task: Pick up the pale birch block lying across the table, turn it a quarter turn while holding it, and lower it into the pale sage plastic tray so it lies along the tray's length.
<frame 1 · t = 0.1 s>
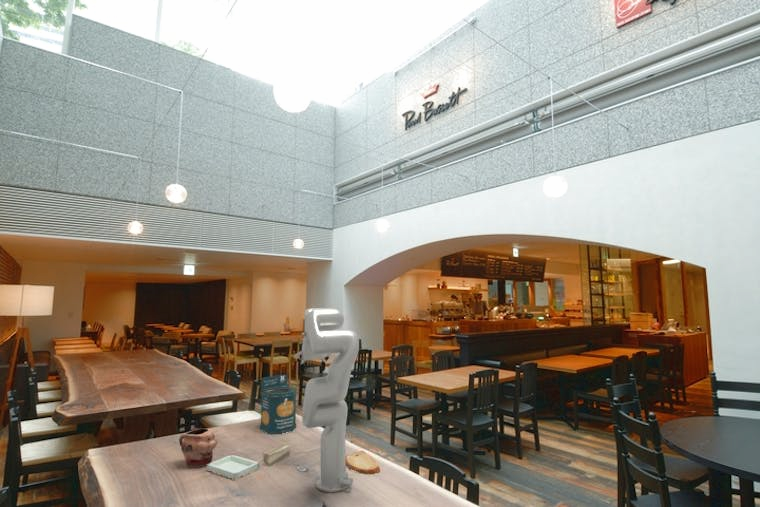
hand: (312, 371, 183), 37 cm above the table, tool pointing down, fingers open, 9 cm apart
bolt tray: (233, 469, 164), on the table
donation box: (279, 430, 217), on the table
decorative planter: (196, 464, 172), on the table
birch block: (276, 461, 173), on the table
tan flat crusted slab: (362, 466, 167), on the table
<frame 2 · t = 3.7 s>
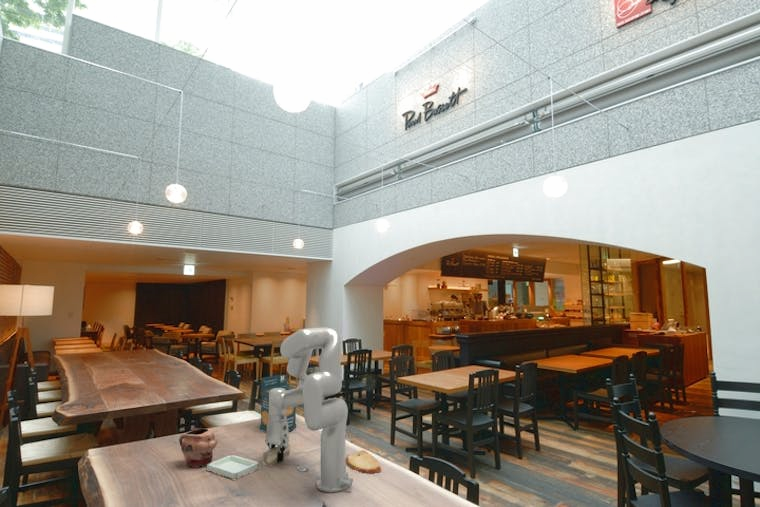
hand: (276, 459, 173), 0 cm above the table, tool pointing down, fingers closed on birch block, 4 cm apart
birch block: (276, 460, 173), on the table, touching gripper
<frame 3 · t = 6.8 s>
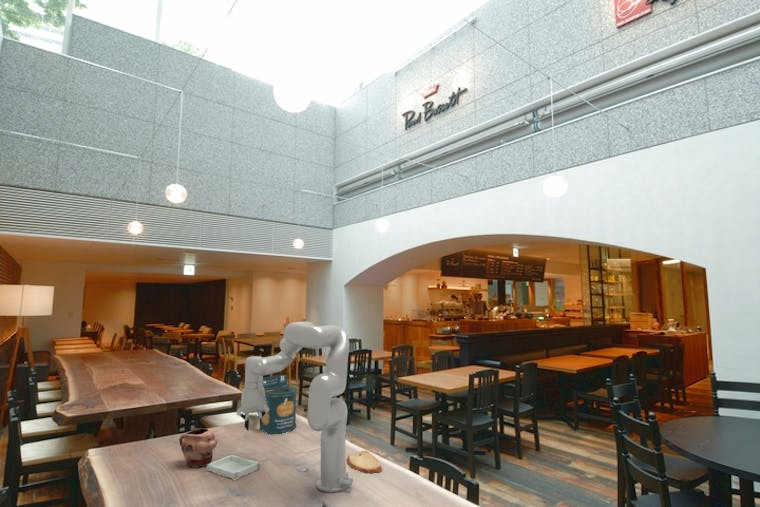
hand: (252, 428, 170), 15 cm above the table, tool pointing down, fingers closed on birch block, 4 cm apart
birch block: (252, 429, 170), point 15 cm above the table, touching gripper
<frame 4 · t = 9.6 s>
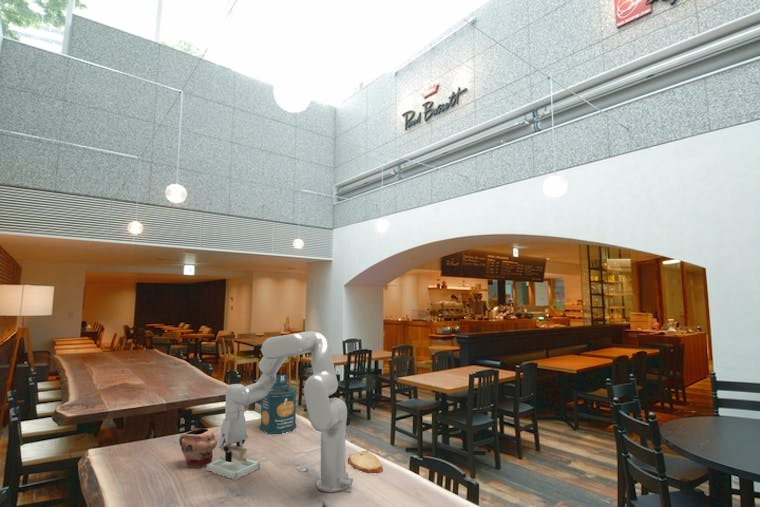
hand: (233, 459, 165), 4 cm above the table, tool pointing down, fingers closed on birch block, 4 cm apart
birch block: (233, 460, 165), point 4 cm above the table, touching gripper
when the fingers open (2 cm above the table, at t = 10.4 s): birch block drops 1 cm, resting on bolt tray.
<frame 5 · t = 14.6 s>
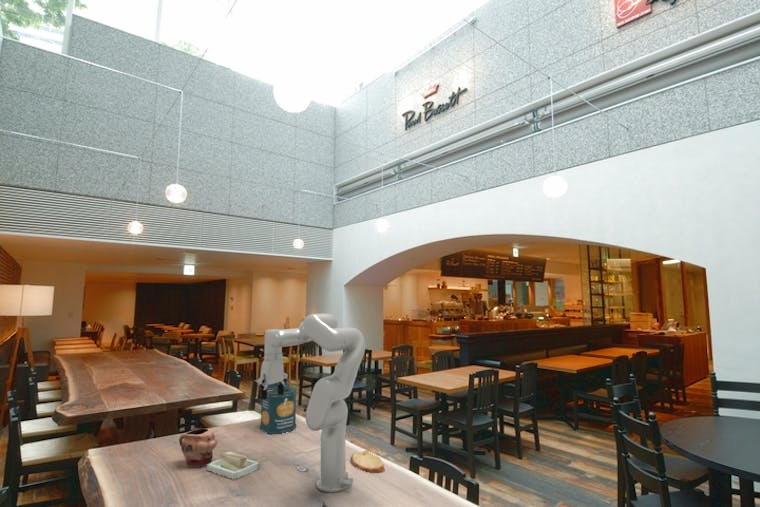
hand: (272, 396, 173), 28 cm above the table, tool pointing down, fingers open, 9 cm apart
birch block: (233, 468, 165), point 1 cm above the table, touching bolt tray
at the end: birch block 0.1 cm off-centre on the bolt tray, point 0.6 cm above the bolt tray's base; the gripper is holding nothing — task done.
